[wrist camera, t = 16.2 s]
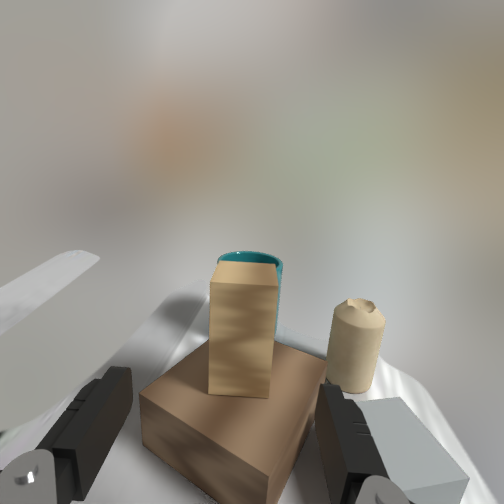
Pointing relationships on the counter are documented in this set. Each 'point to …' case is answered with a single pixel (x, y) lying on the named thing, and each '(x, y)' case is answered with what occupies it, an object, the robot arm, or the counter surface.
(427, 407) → the counter surface
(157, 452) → the walnut block
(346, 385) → the candle
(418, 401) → the counter surface
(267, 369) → the oak pillar
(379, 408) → the grey block
